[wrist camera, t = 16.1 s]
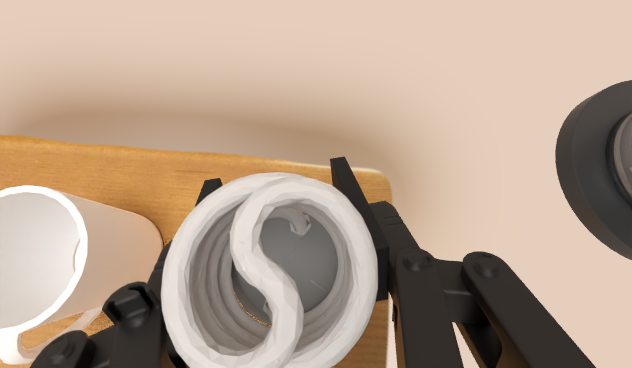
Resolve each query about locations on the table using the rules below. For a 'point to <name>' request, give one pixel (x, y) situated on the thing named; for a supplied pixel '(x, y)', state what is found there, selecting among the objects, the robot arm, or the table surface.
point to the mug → (64, 261)
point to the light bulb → (269, 276)
